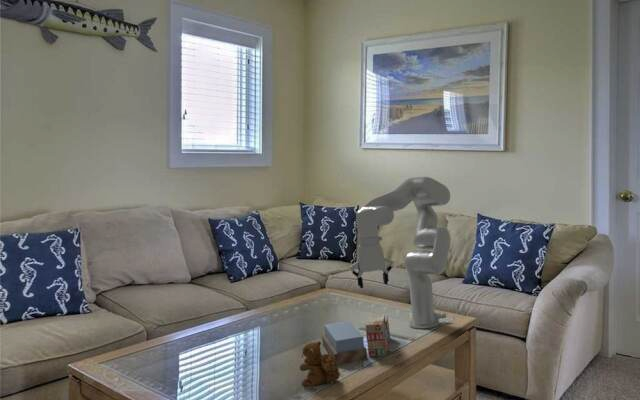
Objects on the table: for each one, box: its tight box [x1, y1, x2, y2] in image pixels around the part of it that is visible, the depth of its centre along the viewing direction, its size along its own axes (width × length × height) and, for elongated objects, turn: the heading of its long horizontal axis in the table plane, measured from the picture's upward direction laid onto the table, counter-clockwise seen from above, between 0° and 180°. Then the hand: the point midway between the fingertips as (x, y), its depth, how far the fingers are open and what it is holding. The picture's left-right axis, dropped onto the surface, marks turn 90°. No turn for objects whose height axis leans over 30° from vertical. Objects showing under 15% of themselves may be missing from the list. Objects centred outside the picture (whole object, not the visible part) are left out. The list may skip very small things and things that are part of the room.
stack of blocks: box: [365, 314, 391, 358], centre depth 220 cm, size 21×6×12 cm, turn 168°
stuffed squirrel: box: [299, 341, 341, 387], centre depth 190 cm, size 10×14×13 cm
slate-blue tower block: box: [323, 320, 365, 353], centre depth 218 cm, size 10×23×4 cm, turn 10°
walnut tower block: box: [321, 334, 368, 366], centre depth 218 cm, size 12×25×4 cm, turn 10°
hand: (373, 285), depth 218 cm, fingers open, 9 cm apart
